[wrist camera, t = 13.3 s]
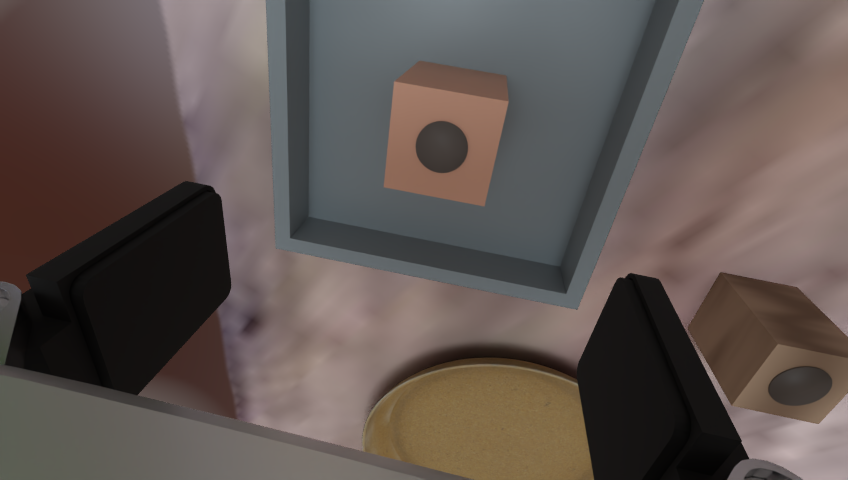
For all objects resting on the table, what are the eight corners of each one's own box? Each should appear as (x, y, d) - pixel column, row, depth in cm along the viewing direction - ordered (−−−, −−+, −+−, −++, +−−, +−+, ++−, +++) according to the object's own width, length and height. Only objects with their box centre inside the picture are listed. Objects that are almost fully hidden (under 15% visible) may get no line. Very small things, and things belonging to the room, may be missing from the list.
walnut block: (796, 287, 29) (876, 365, 23) (757, 341, 32) (819, 425, 25) (720, 272, 29) (778, 345, 23) (687, 327, 32) (732, 406, 26)
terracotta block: (506, 75, 24) (508, 102, 18) (487, 159, 27) (484, 207, 21) (419, 60, 25) (393, 81, 19) (409, 144, 27) (383, 187, 21)
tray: (695, -62, 21) (733, -73, 18) (568, 274, 31) (577, 309, 28) (297, -122, 22) (260, -143, 19) (299, 221, 32) (275, 248, 29)
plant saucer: (656, 343, 33) (671, 376, 30) (614, 521, 45) (622, 557, 42) (353, 330, 37) (341, 358, 34) (386, 496, 49) (379, 527, 46)
